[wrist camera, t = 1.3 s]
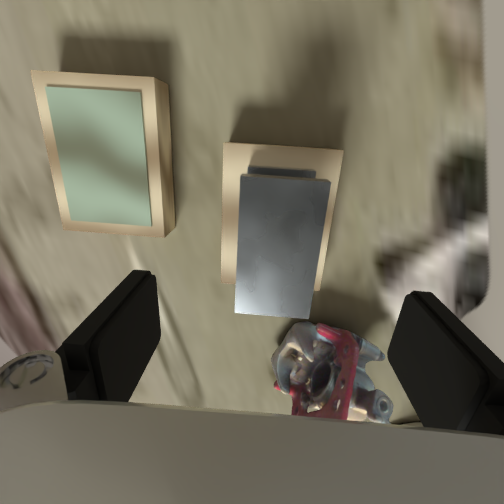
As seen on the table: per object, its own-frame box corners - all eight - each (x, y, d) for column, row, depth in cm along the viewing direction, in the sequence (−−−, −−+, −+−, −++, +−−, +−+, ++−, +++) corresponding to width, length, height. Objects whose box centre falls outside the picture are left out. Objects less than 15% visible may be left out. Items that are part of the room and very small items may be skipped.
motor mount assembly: (287, 297, 26) (392, 418, 18) (348, 297, 34) (442, 384, 26) (237, 375, 31) (305, 502, 23) (301, 361, 38) (369, 453, 30)
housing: (299, 274, 25) (308, 319, 19) (243, 270, 25) (234, 312, 19) (313, 169, 21) (331, 182, 15) (248, 165, 21) (240, 175, 15)
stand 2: (314, 275, 28) (319, 291, 25) (225, 268, 28) (220, 282, 26) (335, 148, 23) (343, 150, 21) (228, 142, 24) (223, 142, 21)
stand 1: (175, 227, 27) (163, 238, 24) (84, 220, 27) (62, 230, 24) (168, 84, 22) (152, 76, 19) (59, 78, 23) (27, 69, 20)
